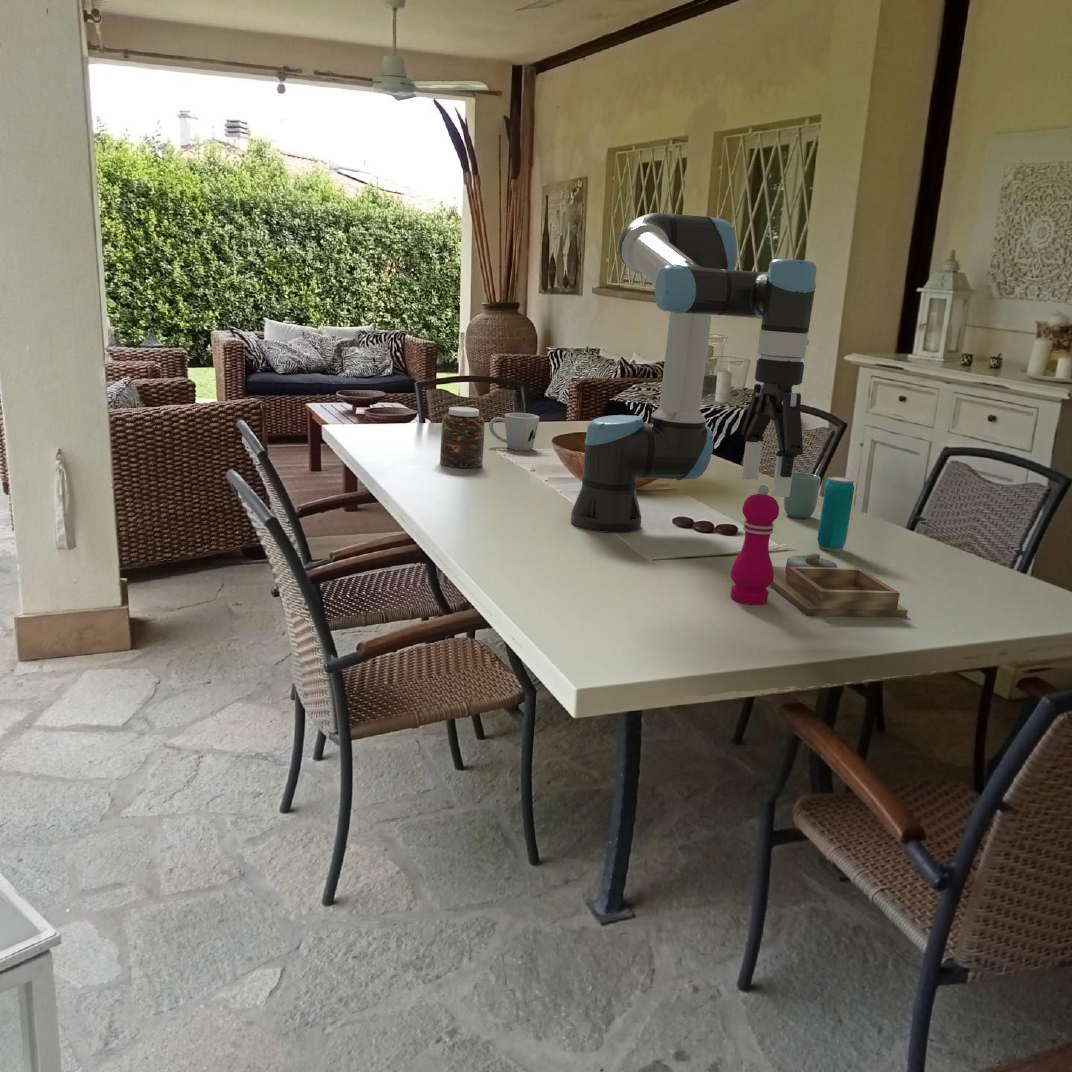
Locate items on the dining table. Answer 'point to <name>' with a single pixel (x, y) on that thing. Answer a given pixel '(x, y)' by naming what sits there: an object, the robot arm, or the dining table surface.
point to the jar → (462, 438)
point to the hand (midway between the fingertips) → (764, 487)
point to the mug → (518, 430)
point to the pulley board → (834, 589)
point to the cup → (802, 495)
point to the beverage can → (835, 513)
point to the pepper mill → (755, 550)
